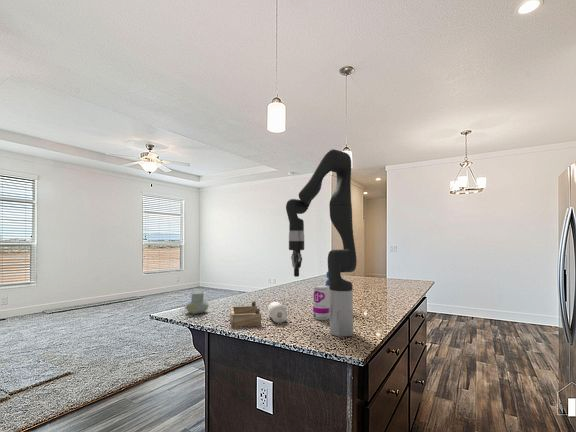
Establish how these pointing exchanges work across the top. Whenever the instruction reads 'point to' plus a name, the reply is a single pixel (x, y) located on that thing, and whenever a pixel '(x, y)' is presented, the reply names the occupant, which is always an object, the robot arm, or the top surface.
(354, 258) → the robot arm
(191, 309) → the air freshener
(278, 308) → the roll
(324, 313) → the supplement can
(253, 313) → the holder
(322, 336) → the top surface
